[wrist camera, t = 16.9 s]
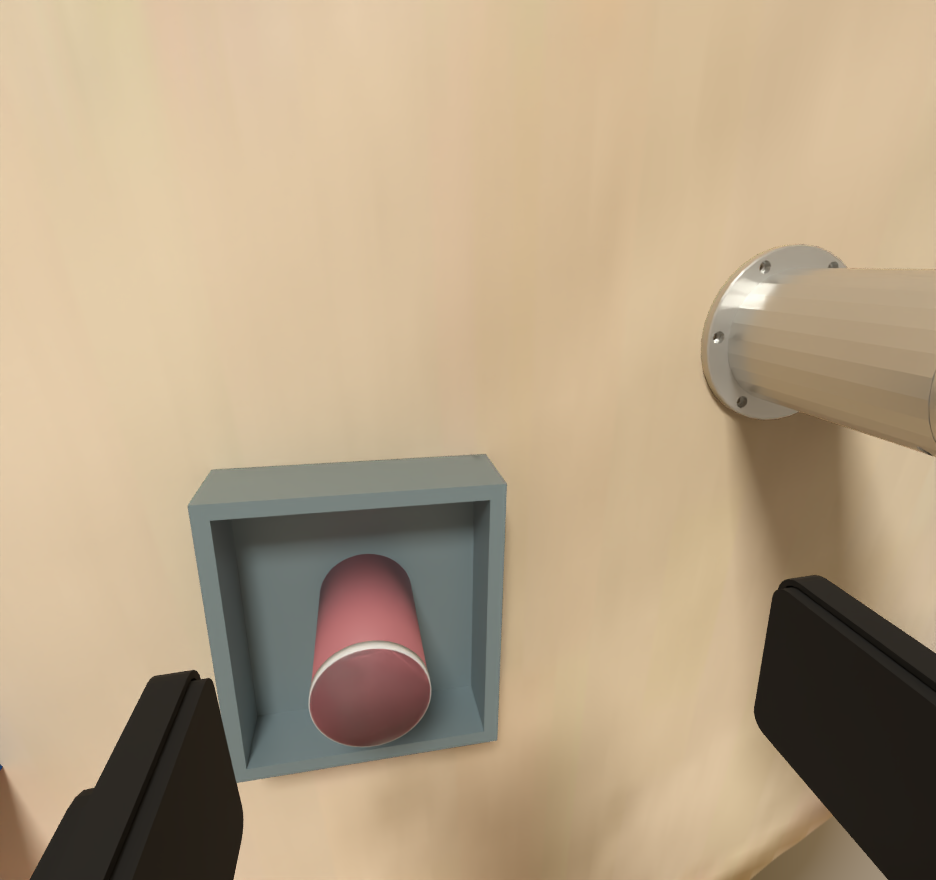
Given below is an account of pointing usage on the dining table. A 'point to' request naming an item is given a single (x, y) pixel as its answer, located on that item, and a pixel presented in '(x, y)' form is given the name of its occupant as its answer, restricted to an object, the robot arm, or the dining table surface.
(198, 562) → the tote
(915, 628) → the dining table surface
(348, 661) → the soup can
